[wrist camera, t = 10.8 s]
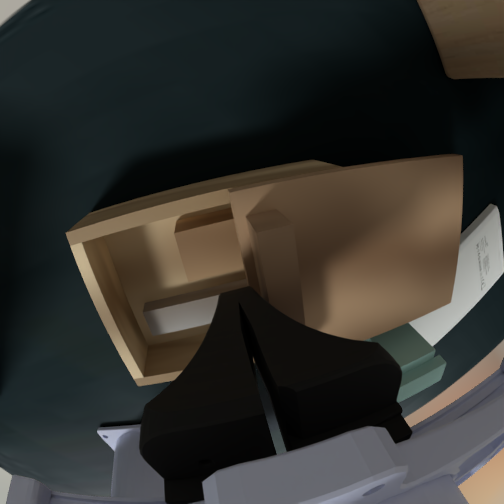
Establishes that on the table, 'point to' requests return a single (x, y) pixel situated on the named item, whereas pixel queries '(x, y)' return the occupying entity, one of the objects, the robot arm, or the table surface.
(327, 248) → the lid
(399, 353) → the teal stepped block
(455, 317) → the external hard drive
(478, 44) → the wooden block
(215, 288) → the tan shallow box
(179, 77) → the table surface
